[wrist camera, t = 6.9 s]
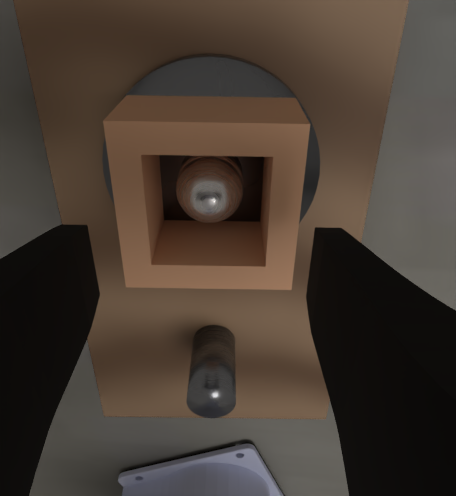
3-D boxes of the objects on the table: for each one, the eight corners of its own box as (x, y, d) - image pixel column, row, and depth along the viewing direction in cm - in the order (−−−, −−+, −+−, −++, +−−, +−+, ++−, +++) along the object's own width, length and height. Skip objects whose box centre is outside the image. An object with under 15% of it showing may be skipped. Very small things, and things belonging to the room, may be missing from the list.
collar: (282, 242, 17) (291, 290, 14) (142, 240, 17) (125, 287, 14) (295, 97, 14) (310, 123, 11) (126, 95, 14) (102, 120, 11)
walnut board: (321, 396, 25) (325, 419, 23) (110, 394, 25) (104, 416, 23) (395, -13, 14) (411, -13, 13) (29, -17, 14) (9, -17, 13)
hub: (305, 254, 18) (318, 303, 15) (121, 252, 18) (101, 300, 15) (329, 54, 14) (353, 72, 11) (93, 52, 14) (59, 69, 11)
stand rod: (235, 356, 21) (235, 418, 18) (193, 355, 21) (187, 417, 18) (235, 325, 20) (236, 385, 17) (192, 324, 20) (185, 384, 17)
